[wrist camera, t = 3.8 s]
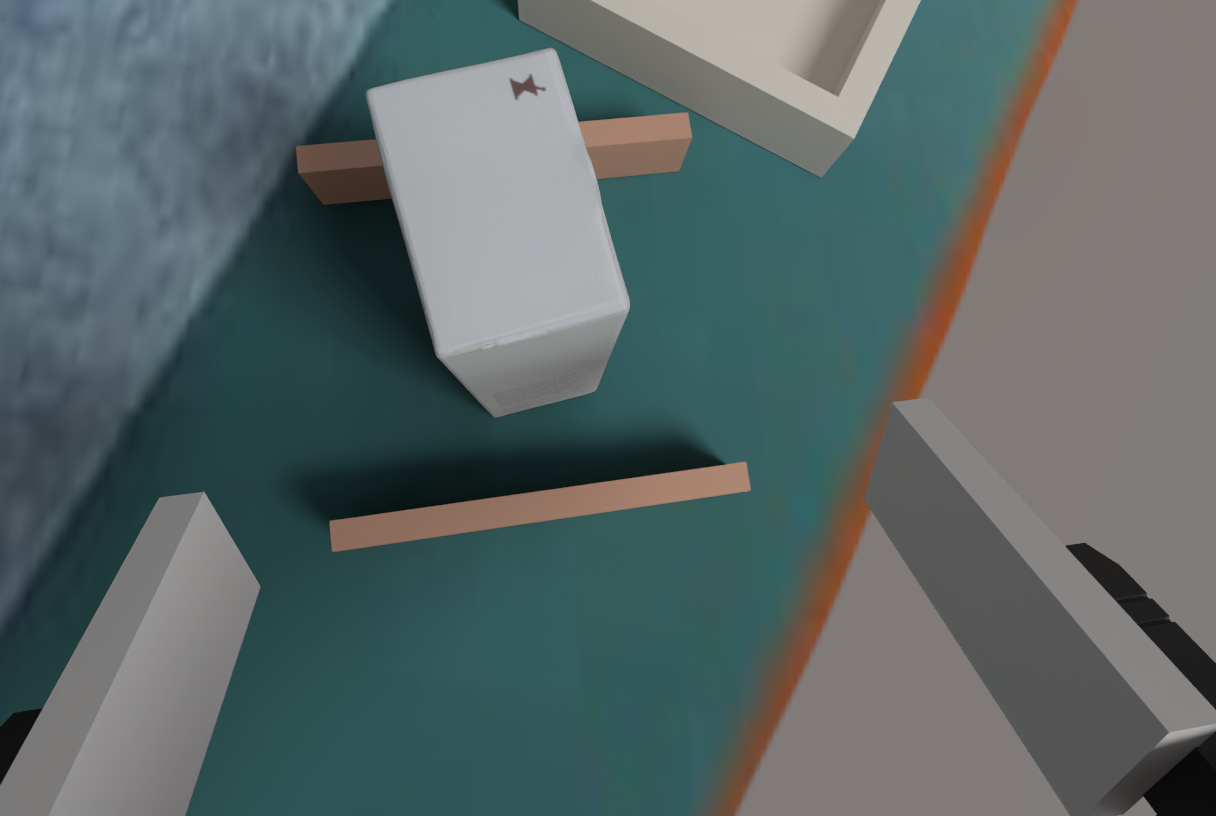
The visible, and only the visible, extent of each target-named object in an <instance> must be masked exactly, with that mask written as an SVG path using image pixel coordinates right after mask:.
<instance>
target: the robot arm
mask: <svg viewBox="0 0 1216 816" xmlns="http://www.w3.org/2000/svg"><path fill="white" fill-rule="evenodd" d="M864 500H865V501H866V503H867V505H868V506H869V508H870V509H871V511H872V512H873V514H874V515H875V517H876V518H877V520H878V521H879V523H880V524H881V526H882V527H883V529H884V530H885V532H886V534H887V535H888V537H889V538H890V540H891V541H892V543H893V544H894V546H895V547H896V549H897V551H898V552H899V554H900V555H901V557H902V558H903V560H904V561H905V563H906V564H907V566H908V567H909V569H910V571H911V572H912V573H913V575H914V577H915V578H916V580H917V581H918V583H919V584H920V586H921V587H922V589H923V590H924V592H925V593H926V595H927V597H928V598H929V600H930V601H931V603H932V604H933V606H934V607H935V609H936V610H937V612H938V613H939V615H940V617H941V618H942V619H943V621H944V623H945V624H946V626H947V627H948V629H949V630H950V632H951V633H952V635H953V636H954V638H955V639H956V641H957V643H958V644H959V645H960V647H961V649H962V650H963V652H964V653H965V655H966V656H967V658H968V660H969V661H970V663H971V664H972V666H973V667H974V669H975V670H976V672H977V673H978V675H979V676H980V678H981V679H982V681H983V682H984V684H985V685H986V687H987V689H988V690H989V692H990V693H991V695H992V696H993V698H994V699H995V701H996V702H997V704H998V705H999V707H1000V709H1001V710H1002V711H1003V713H1004V715H1005V716H1006V718H1007V719H1008V721H1009V722H1010V724H1011V725H1012V727H1013V729H1014V730H1015V732H1016V733H1017V735H1018V736H1019V738H1020V739H1021V741H1022V742H1023V744H1024V745H1025V747H1026V748H1027V750H1028V752H1029V753H1030V755H1031V756H1032V758H1033V759H1034V761H1035V762H1036V764H1037V765H1038V767H1039V768H1040V770H1041V772H1042V773H1043V774H1044V776H1045V777H1046V779H1047V781H1048V782H1049V784H1050V785H1051V787H1052V788H1053V790H1054V791H1055V793H1056V794H1057V796H1058V797H1059V799H1060V801H1061V802H1062V804H1063V805H1064V807H1065V808H1066V810H1067V811H1068V813H1069V814H1070V816H1116V815H1122V814H1124V813H1125V812H1126V811H1127V810H1129V809H1130V808H1131V807H1132V806H1133V805H1134V804H1135V803H1136V802H1137V801H1139V800H1140V799H1141V798H1142V797H1143V796H1144V797H1145V799H1146V800H1147V801H1148V803H1149V804H1150V805H1151V807H1152V808H1153V809H1154V811H1155V812H1156V813H1157V815H1156V816H1216V663H1215V662H1214V661H1213V660H1212V659H1211V658H1210V657H1209V656H1208V655H1207V654H1206V653H1205V652H1204V651H1203V650H1202V649H1201V648H1200V647H1199V646H1198V645H1197V644H1196V643H1195V642H1194V641H1193V640H1192V639H1191V638H1190V637H1189V636H1188V635H1187V634H1186V633H1185V632H1184V631H1183V630H1182V629H1181V627H1180V626H1179V625H1178V624H1177V623H1175V622H1171V621H1170V620H1169V615H1168V614H1167V613H1166V612H1165V611H1164V610H1163V609H1162V608H1161V607H1160V606H1159V605H1158V604H1157V603H1156V602H1155V601H1154V600H1153V599H1149V598H1148V597H1147V595H1146V594H1147V593H1146V592H1145V591H1144V590H1143V589H1142V588H1141V587H1140V586H1139V584H1137V583H1136V581H1135V580H1134V579H1133V578H1131V576H1130V575H1129V574H1128V573H1127V572H1126V571H1125V570H1124V569H1123V568H1122V567H1121V566H1120V565H1119V564H1117V563H1115V562H1114V561H1112V560H1111V559H1109V558H1107V557H1106V556H1105V555H1103V554H1101V553H1100V552H1098V551H1097V550H1095V549H1093V548H1092V547H1090V546H1089V545H1087V544H1086V543H1080V544H1074V545H1067V546H1064V545H1063V543H1062V542H1061V541H1059V539H1058V538H1057V537H1056V536H1055V535H1054V534H1053V533H1052V532H1051V530H1049V528H1048V527H1046V525H1045V524H1044V523H1043V522H1042V521H1041V520H1040V519H1039V517H1038V516H1037V515H1036V514H1035V513H1034V512H1033V511H1032V510H1031V509H1030V508H1029V507H1028V506H1027V504H1026V503H1025V502H1024V501H1023V500H1022V499H1021V498H1020V497H1019V496H1018V495H1017V494H1016V492H1014V490H1013V489H1012V488H1011V487H1010V486H1009V485H1008V484H1007V483H1006V482H1005V481H1004V479H1003V478H1002V477H1001V476H1000V475H999V474H998V473H997V472H996V471H995V470H994V469H993V467H992V466H991V465H990V464H989V463H988V462H987V461H986V460H985V459H984V458H983V457H982V456H981V455H980V453H979V452H978V451H977V450H976V449H975V448H974V447H973V446H972V445H971V444H970V443H969V441H968V440H967V439H966V438H965V437H964V436H963V435H962V434H961V433H960V432H959V431H958V430H957V429H956V427H955V426H954V425H953V424H952V423H951V422H950V421H949V420H948V419H947V418H946V416H945V415H944V414H943V413H942V412H941V411H940V410H939V409H938V408H937V407H936V406H935V405H934V403H933V402H932V401H931V400H930V399H929V398H921V399H914V400H906V401H898V402H892V405H891V408H890V412H889V415H888V419H887V422H886V425H885V429H884V432H883V436H882V439H881V443H880V446H879V449H878V453H877V456H876V460H875V463H874V467H873V470H872V474H871V477H870V480H869V484H868V487H867V491H866V494H865V498H864ZM259 590H260V585H259V583H258V582H257V580H256V578H255V577H254V575H253V573H252V571H251V570H250V568H249V566H248V565H247V563H246V561H245V560H244V558H243V556H242V555H241V553H240V551H239V550H238V548H237V546H236V545H235V543H234V541H233V539H232V538H231V536H230V534H229V533H228V531H227V529H226V528H225V526H224V524H223V523H222V521H221V519H220V518H219V516H218V514H217V512H216V511H215V509H214V507H213V506H212V504H211V502H210V501H209V499H208V497H207V496H206V494H205V492H199V493H191V494H183V495H176V496H168V497H160V498H159V499H158V501H157V503H156V505H155V506H154V508H153V510H152V512H151V514H150V515H149V517H148V519H147V521H146V523H145V524H144V526H143V528H142V530H141V532H140V534H139V535H138V537H137V539H136V541H135V543H134V544H133V546H132V548H131V550H130V552H129V553H128V555H127V557H126V559H125V561H124V562H123V564H122V566H121V568H120V570H119V572H118V573H117V575H116V577H115V579H114V581H113V582H112V584H111V586H110V588H109V590H108V591H107V593H106V595H105V597H104V599H103V600H102V602H101V604H100V606H99V608H98V610H97V611H96V613H95V615H94V617H93V619H92V620H91V622H90V624H89V626H88V628H87V629H86V631H85V633H84V635H83V637H82V638H81V640H80V642H79V644H78V646H77V648H76V649H75V651H74V653H73V655H72V657H71V658H70V660H69V662H68V664H67V666H66V667H65V669H64V671H63V673H62V675H61V676H60V678H59V680H58V682H57V684H56V685H55V687H54V689H53V691H52V693H51V695H50V696H49V698H48V700H47V702H46V704H45V705H44V707H43V709H36V710H30V711H23V712H17V713H14V714H13V715H12V716H11V717H10V718H9V719H8V720H7V721H6V722H5V723H4V724H3V725H2V726H1V727H0V816H185V814H186V811H187V808H188V805H189V802H190V799H191V796H192V793H193V790H194V787H195V784H196V781H197V778H198V775H199V772H200V769H201V766H202V763H203V760H204V757H205V754H206V751H207V748H208V745H209V742H210V739H211V735H212V732H213V729H214V726H215V723H216V720H217V717H218V714H219V711H220V708H221V705H222V702H223V699H224V696H225V693H226V690H227V687H228V684H229V681H230V678H231V675H232V672H233V669H234V666H235V663H236V660H237V657H238V654H239V650H240V647H241V644H242V641H243V638H244V635H245V632H246V629H247V626H248V623H249V620H250V617H251V614H252V611H253V608H254V605H255V602H256V599H257V596H258V593H259Z"/></svg>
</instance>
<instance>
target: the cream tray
mask: <svg viewBox="0 0 1216 816" xmlns="http://www.w3.org/2000/svg"><path fill="white" fill-rule="evenodd" d="M920 1H921V0H518V9H519V20H520V21H522V22H524V23H526V24H528V25H530V26H532V27H534V28H535V29H537V30H539V31H541V32H543V33H545V34H547V35H549V36H551V37H553V38H555V39H557V40H558V41H560V42H562V43H564V44H566V45H568V46H570V47H572V48H574V49H576V50H578V51H579V52H581V53H583V54H585V55H587V56H589V57H591V58H593V59H595V60H597V61H599V62H600V63H602V64H604V65H606V66H608V67H610V68H612V69H614V70H616V71H618V72H620V73H621V74H623V75H625V76H627V77H629V78H631V79H633V80H635V81H637V82H639V83H641V84H642V85H644V86H646V87H648V88H650V89H652V90H654V91H656V92H658V93H660V94H662V95H663V96H665V97H667V98H669V99H671V100H673V101H675V102H677V103H679V104H681V105H683V106H685V107H686V108H688V109H690V110H692V111H694V112H696V113H698V114H700V115H702V116H704V117H706V118H707V119H709V120H711V121H713V122H715V123H717V124H719V125H721V126H723V127H725V128H727V129H728V130H730V131H732V132H734V133H736V134H738V135H740V136H742V137H744V138H746V139H748V140H749V141H751V142H753V143H755V144H757V145H759V146H761V147H763V148H765V149H767V150H769V151H770V152H772V153H774V154H776V155H778V156H780V157H782V158H784V159H786V160H788V161H790V162H791V163H793V164H795V165H797V166H799V167H801V168H803V169H805V170H807V171H809V172H811V173H812V174H814V175H816V176H818V177H820V178H821V177H822V176H823V175H824V174H825V173H826V171H827V170H828V169H829V168H830V167H831V166H832V164H833V163H834V162H835V161H836V160H837V158H838V157H839V156H840V155H841V154H842V153H843V151H844V150H845V149H846V148H847V147H848V145H849V144H850V143H851V142H852V141H853V140H854V138H855V136H856V134H857V132H858V130H859V128H860V126H861V124H862V122H863V119H864V117H865V115H866V113H867V111H868V109H869V107H870V105H871V103H872V101H873V99H874V97H875V95H876V92H877V90H878V88H879V86H880V84H881V82H882V80H883V78H884V76H885V74H886V72H887V70H888V68H889V65H890V63H891V61H892V59H893V57H894V55H895V53H896V51H897V49H898V47H899V45H900V43H901V41H902V38H903V36H904V34H905V32H906V30H907V28H908V26H909V24H910V22H911V20H912V18H913V16H914V14H915V11H916V9H917V7H918V5H919V3H920Z"/></svg>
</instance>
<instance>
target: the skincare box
mask: <svg viewBox="0 0 1216 816" xmlns="http://www.w3.org/2000/svg"><path fill="white" fill-rule="evenodd" d="M366 99H367V103H368V107H369V111H370V115H371V119H372V124H373V128H374V132H375V137H376V141H377V145H378V149H379V154H380V158H381V161H382V165H383V169H384V173H385V176H386V180H387V184H388V188H389V191H390V194H391V197H392V201H393V204H394V207H395V210H396V214H397V217H398V221H399V224H400V227H401V231H402V234H403V238H404V241H405V245H406V248H407V252H408V256H409V259H410V263H411V267H412V270H413V274H414V277H415V281H416V285H417V288H418V292H419V295H420V299H421V303H422V306H423V310H424V314H425V317H426V321H427V325H428V328H429V332H430V335H431V339H432V343H433V347H434V351H435V355H436V357H437V358H438V359H439V360H440V361H441V362H442V363H443V364H444V365H445V366H446V367H447V368H448V369H449V370H450V371H451V372H452V373H453V374H454V376H455V377H456V378H457V379H458V380H459V381H460V382H461V383H462V384H463V385H464V387H465V388H466V389H467V390H468V391H469V392H470V393H471V394H472V395H473V396H474V397H475V398H476V400H477V401H478V402H479V403H480V404H481V405H482V406H483V407H484V408H485V409H486V410H487V411H488V412H489V413H490V414H491V415H492V416H493V417H495V418H497V417H501V416H504V415H508V414H511V413H515V412H519V411H523V410H527V409H531V408H535V407H539V406H542V405H546V404H550V403H554V402H558V401H562V400H566V399H570V398H573V397H577V396H581V395H585V394H588V393H592V392H594V391H596V390H597V387H598V385H599V382H600V380H601V377H602V374H603V372H604V370H605V367H606V365H607V362H608V360H609V358H610V355H611V352H612V350H613V347H614V345H615V342H616V340H617V338H618V335H619V333H620V330H621V328H622V326H623V324H624V321H625V319H626V316H627V314H628V311H629V308H630V303H629V297H628V294H627V290H626V287H625V284H624V280H623V277H622V273H621V270H620V267H619V263H618V260H617V257H616V253H615V250H614V246H613V242H612V239H611V236H610V232H609V228H608V225H607V221H606V218H605V214H604V210H603V207H602V202H601V197H600V192H599V187H598V183H597V179H596V175H595V172H594V168H593V165H592V162H591V159H590V157H589V155H588V152H587V149H586V146H585V143H584V139H583V136H582V133H581V129H580V126H579V123H578V119H577V116H576V113H575V110H574V106H573V103H572V100H571V96H570V93H569V90H568V87H567V83H566V80H565V77H564V74H563V70H562V67H561V64H560V61H559V58H558V55H557V52H556V51H555V50H554V49H552V48H547V49H543V50H540V51H535V52H531V53H527V54H523V55H519V56H514V57H510V58H505V59H501V60H496V61H492V62H487V63H483V64H478V65H473V66H468V67H464V68H459V69H454V70H449V71H444V72H440V73H435V74H430V75H425V76H421V77H416V78H411V79H407V80H403V81H399V82H395V83H391V84H387V85H383V86H379V87H375V88H372V89H368V90H367V92H366Z"/></svg>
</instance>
